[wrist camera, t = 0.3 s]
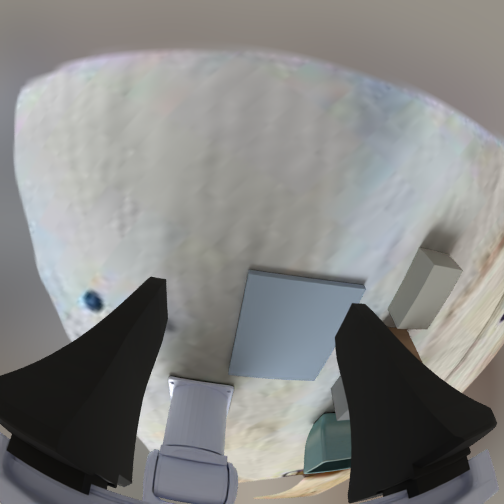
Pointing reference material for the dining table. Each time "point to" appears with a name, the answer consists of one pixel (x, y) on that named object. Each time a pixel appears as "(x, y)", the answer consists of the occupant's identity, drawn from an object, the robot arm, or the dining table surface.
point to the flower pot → (328, 445)
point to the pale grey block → (424, 289)
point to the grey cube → (340, 401)
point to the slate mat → (289, 325)
